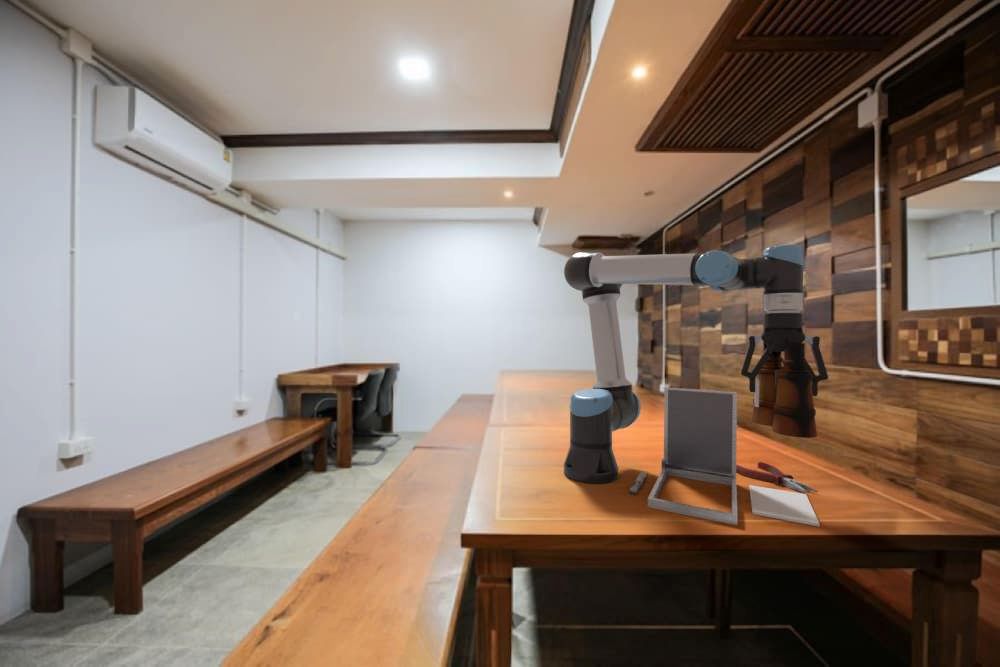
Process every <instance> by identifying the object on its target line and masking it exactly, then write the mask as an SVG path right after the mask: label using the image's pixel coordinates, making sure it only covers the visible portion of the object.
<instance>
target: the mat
mask: <svg viewBox="0 0 1000 667" xmlns="http://www.w3.org/2000/svg"><path fill="white" fill-rule="evenodd" d="M748 486H749V487H748V488H749V496H750V503H751V504H750V505H751V514H752V515H757V516H762V517H766V518H772V519H777V520H781V521H789V522H793V523H798V524H803V525H809V526H815V527H821V526H820V525H821V524H820V521H819V520H818V517H817V515H816V513H815V510H814V508H813V506H812V504H811V502H810V500H809V498H808V496H807V495H808V494H807V493H803V492H796V491H789V490H783V489H775V488H770V487H763V486H759V485H758V486H757V485H752V484H751V485H750V484H749V485H748Z"/></svg>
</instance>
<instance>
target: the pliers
mask: <svg viewBox="0 0 1000 667" xmlns="http://www.w3.org/2000/svg"><path fill="white" fill-rule="evenodd" d="M757 468H758V469H760V470H763V471H760V470H759V471H758V470H754V469H752V468H751V469H750V468H746V467H743V466H741V465H739V464H736V474H739V475H741V476H744V477H747V478H751V479H755V480H759V481H764V482H767V483H768V482H769V483H772V484H774V485H775V486H779V485H781V486H782V485H783V486H784V487H787V488H789V489H791V490H792V489H793V490H795V491H799V492H800V493H803V494H806V495H808V494H809V492H814V493H818V490H816V489H814V488H813V487H810V486H809V485H807V484H804V483H802V482H800V481H798V480H795V479H794V477H793V476H792V475H791V474H786V473H785V474H784V473H783V472H782V471H781V469H778V468H777V467H776V466H774V465H771V464H769V463H765V462H763V461H760V462H758V463H757ZM764 471H765V472H764Z"/></svg>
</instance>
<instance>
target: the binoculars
mask: <svg viewBox="0 0 1000 667" xmlns="http://www.w3.org/2000/svg"><path fill="white" fill-rule="evenodd" d="M805 346H806V345H805V342H802V343H790V344H789V345H788V346H787V347H786V348H785V351H784V352H783V355H784V358H783V357H782V352H774V351H773V352H772V354H771V355H770V356H769V358H768V359H767V361H766V362H765V364H764V365H763V367H762V368H761V370H760V371H759V373H758V375H757V376H756V379H759V407H755V397H753V399H752V401H753V402H752V403H753V411H752V417H751V422H752V423H754V424H757V425H762V426H766V427H772V428H771V432H773V433H774V434H778V435H782V436H785V437H786V436H788V437H795V438H803V439H805V438H807V439H812V438H817V437H818V433H817V425H816V419H815V416H816V413H817V410H816V409H815V404H814V396H813V393H812V383H811V379H812V374H810V371H809V370H806V364H807V362H808V361H807V360H806V361H807V362H806V361H805V360H804V358H805V359H806V357H805V354H806V352H805V351H806V349H805V348H806V347H805ZM762 347H763V349H762V352H763V353H764V351H765V350H766V348H767V347H768V346H767V345H766V344H765V343H764V342H763V346H762ZM763 353H762V354H763ZM782 364H783V365H782Z"/></svg>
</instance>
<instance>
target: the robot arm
mask: <svg viewBox="0 0 1000 667" xmlns="http://www.w3.org/2000/svg"><path fill="white" fill-rule="evenodd" d="M803 253H804V252H803V248H802V247H801V246H800V245H797V244H781V245H775V246H768V247H766V248H765V250H764V254H763V256H760V257H752V258H751V257H750V258H738V257H737V256H734V255H733V254H731V253H729V252H726V251H724V250H715V249H714V250H709V251H707V252H705V253H697V252H696V253H670V254H669V253H668V254H666V253H665V254H635V255H633V254H632V255H605V254H603V252H587V251H580V252H576V253H575V254H572V255H571V256H570V257H569V258H568V259H567V261H566V263H565V265H564V271H563V274H564V279H565V281H566V282H567V284H568V285H569V286H570V287H571V288H573V289H575V290H577V291H580V292H581V294H582V301H583V302H584V303H585V304H586V305H587V306H588V312H589V313H588V314H589V321H590V331H591V339H592V347H593V354H594V355H593V356H594V364H595V373H596V382H595V383H594V385H592V388H588V389H582V390H577V391H576V392H573V393H572V395H571V397H570V403H569V411H570V412H569V413H570V414H569V416H570V417H569V419H570V420H569V421H570V422H569V423H570V424H569V442H570V443H569V448H568V451H567V454H566V456H565V460H564V462H563V475H564V476H566V477H568V478H569V479H572V480H573V481H574V480H575V481H577V482H581V483H588V484H590V483H591V484H604V483H606V484H607V483H610V482H614V481H615V480H617V479H618V478H619V466H618V464H617V460H616V457H615V453H614V450H613V432H615V431H617V430H621V429H626V428H627V427H630V425H633V424H634V423H635V422H636V421H637V420H638V418H639V416H640V414H641V409H642V407H641V402H640V399H639V397H638V395H637V394H636V393H635V392H634V391H633V385H632V382H631V381H629V380H628V379H627V377H626V370H625V361H624V353H623V346H622V337H621V330H620V322H619V314H618V308H617V301H618V300H619V299H620V297H621V287H622V285H657V286H658V285H659V286H660V285H664V286H665V285H668V286H669V285H670V286H672V285H673V286H699V287H700V286H702V287H703V286H707V287H709V288H710V289H711V291H712V290H713V291H714V292H717V291H718V292H719V291H721V292H723V291H724V292H729V291H738V290H739V291H740V290H752V289H763V311H764V312H766V313H765V314H763V332H762V334H761V335H749V336H748V348H747V350H746V355H745V358H744V361H743V364H742V368H741V371H740V374H741V376H743V377H747V378H748V379H749V382H748V384H749V389H748V390H749V392H750V393H754V398H755V407H759V379H757V375H758V373H759V371H760V370H761V368H762V367H763V365H764V364H765V362H766V361H767V359H768V358H769V356H770V355H771V354H772V352H773V351H774V352H781V353H784V351H785V348H786V347H787V346H788V345H789V344H790V343H804V341H805V342H807V345H809V346H810V350H811V353H812V355H813V356H812V357H813V359H814V364H815V366H816V370H817V372H818V374H816V373H815V372H814V370H813V368H811V365H810V364H809V363H808V360H807V359H806V357H805V358H804V360H805V361H806V362H807V364H806V370H809V371H810V374H812V379H811V383H812V393H813V397H817V396H818V393H819V391H818V390H819V388H818V387H819V385H818V384H819V382H820V381H826V380H828V379H829V376H828V371H827V369H826V365H825V362H824V359H823V355H822V352H821V349H820V344H821V343H820V342H821V338H820V337H819V336H818V335H817V336H816V335H813V336H811V335H805V333H804V331H803V330H804V328H803V326H804V325H803V323H804V314H802V313H801V311H803V309H804V306H803V302H804V301H803V299H804V297H803V294H804V265H805V264H804V256H803ZM760 341H762V342H763V344H764V343H765V344H766V345H767V346H768V347H767V348H766V350H765V351H764V353H762V355H761V357H760V358H759V359H758V361H757V363H756V364H755V366H754V367H753V369H752V370H751V371H749V368H750V365H751V362H752V360H753V355H754V353H755V348H756V345H759V344H760Z"/></svg>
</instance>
